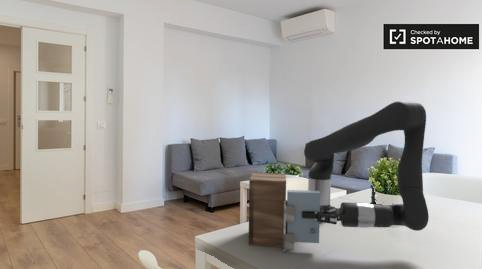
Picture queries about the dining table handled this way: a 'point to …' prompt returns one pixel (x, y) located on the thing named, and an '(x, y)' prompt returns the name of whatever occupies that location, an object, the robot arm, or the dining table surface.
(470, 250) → the dining table surface
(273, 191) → the cabinet
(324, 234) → the dining table surface
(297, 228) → the door
